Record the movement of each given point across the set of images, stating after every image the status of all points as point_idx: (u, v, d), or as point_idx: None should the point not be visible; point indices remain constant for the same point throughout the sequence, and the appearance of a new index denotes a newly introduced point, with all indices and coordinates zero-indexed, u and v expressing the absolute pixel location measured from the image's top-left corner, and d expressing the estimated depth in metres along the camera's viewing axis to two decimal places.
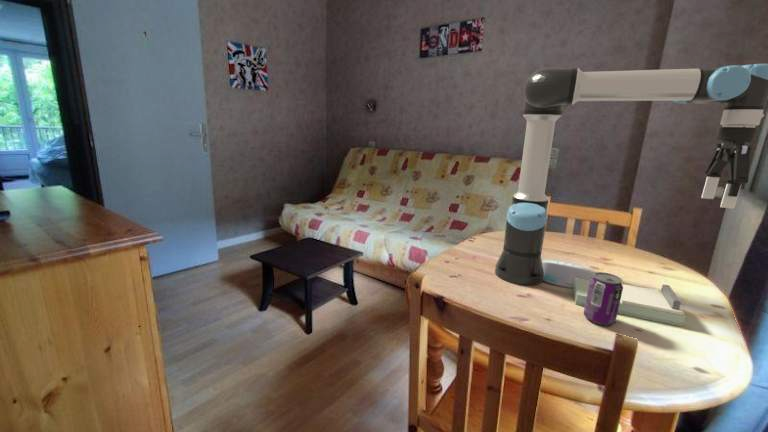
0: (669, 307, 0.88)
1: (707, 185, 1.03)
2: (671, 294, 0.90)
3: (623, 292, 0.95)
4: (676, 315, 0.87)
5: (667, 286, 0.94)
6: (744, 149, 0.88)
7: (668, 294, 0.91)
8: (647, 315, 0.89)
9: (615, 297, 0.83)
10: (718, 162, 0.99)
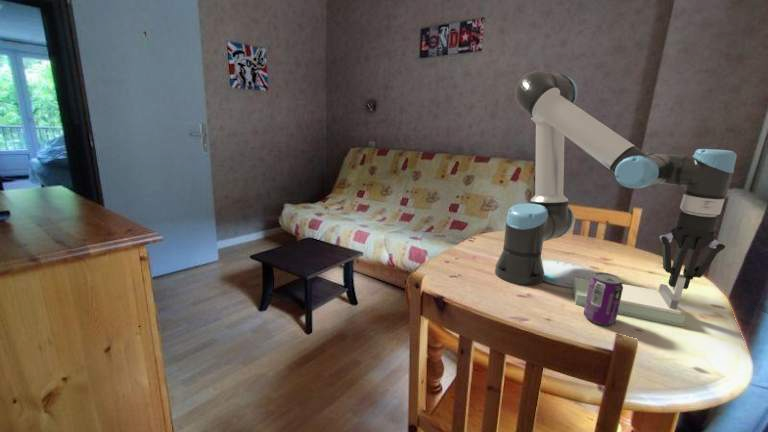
0: (667, 307, 0.88)
1: None
2: (669, 293, 0.90)
3: None
4: (676, 315, 0.87)
5: (664, 285, 0.95)
6: (660, 239, 0.89)
7: (666, 294, 0.91)
8: (647, 315, 0.89)
9: (615, 297, 0.83)
10: (689, 252, 0.88)
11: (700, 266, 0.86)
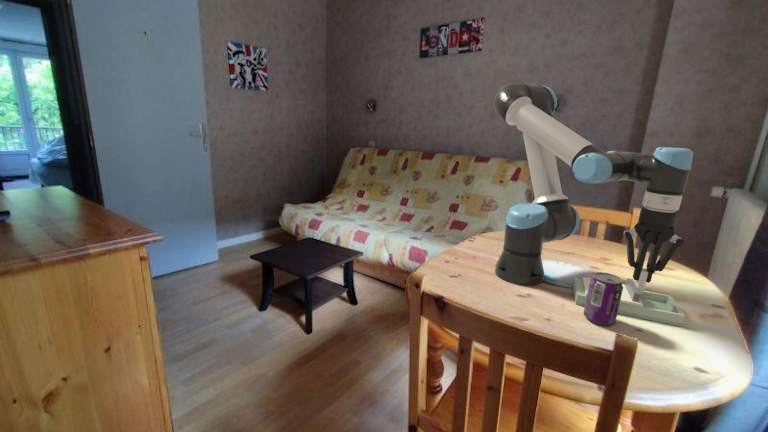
0: (630, 299, 0.91)
1: None
2: (633, 287, 0.93)
3: (588, 285, 0.99)
4: (676, 315, 0.87)
5: (630, 279, 0.98)
6: (624, 234, 0.92)
7: (630, 287, 0.94)
8: (647, 315, 0.89)
9: (615, 297, 0.83)
10: (651, 247, 0.91)
11: (661, 260, 0.90)
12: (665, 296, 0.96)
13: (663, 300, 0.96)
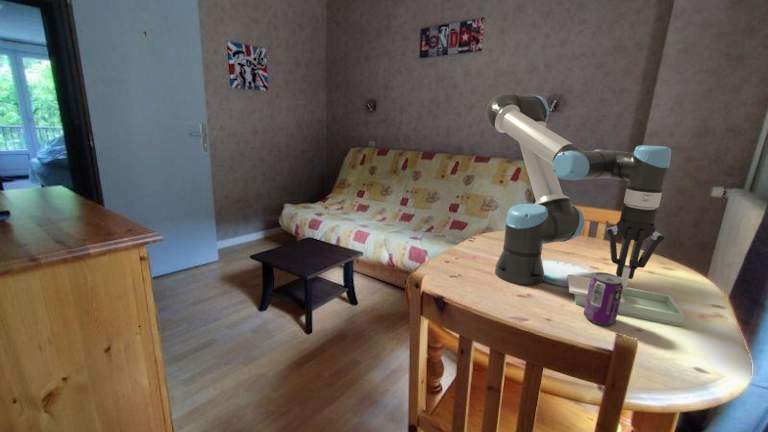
0: None
1: None
2: None
3: (573, 283, 1.00)
4: (676, 315, 0.87)
5: None
6: (607, 231, 0.94)
7: None
8: (647, 315, 0.89)
9: (615, 297, 0.83)
10: (633, 244, 0.93)
11: (643, 257, 0.91)
12: (665, 296, 0.96)
13: (663, 300, 0.96)
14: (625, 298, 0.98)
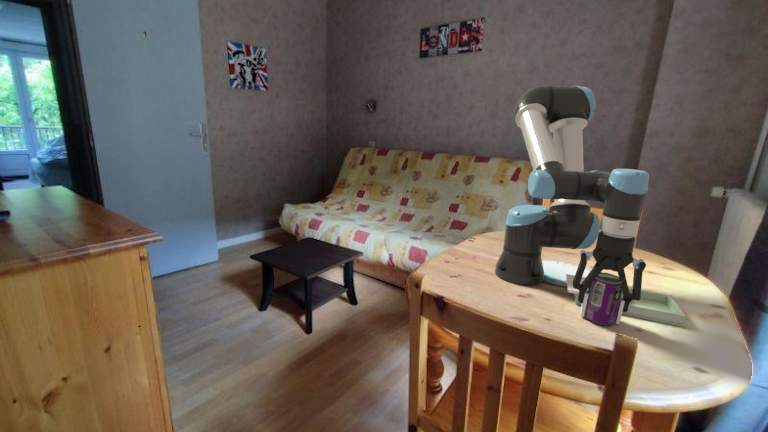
0: None
1: None
2: None
3: (571, 282, 1.01)
4: (676, 315, 0.87)
5: None
6: None
7: None
8: (647, 315, 0.89)
9: (615, 297, 0.83)
10: (618, 274, 0.85)
11: (634, 288, 0.83)
12: (665, 296, 0.96)
13: (663, 300, 0.96)
14: None
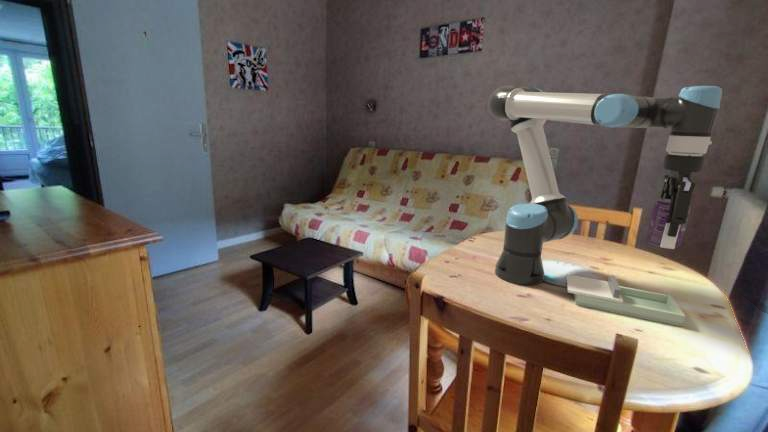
0: (611, 296, 0.93)
1: None
2: (614, 283, 0.95)
3: (571, 282, 1.01)
4: (676, 315, 0.87)
5: (612, 276, 1.00)
6: (687, 186, 0.79)
7: (611, 284, 0.96)
8: (647, 315, 0.89)
9: None
10: (667, 195, 0.88)
11: None
12: (665, 296, 0.96)
13: (663, 300, 0.96)
14: (625, 298, 0.98)
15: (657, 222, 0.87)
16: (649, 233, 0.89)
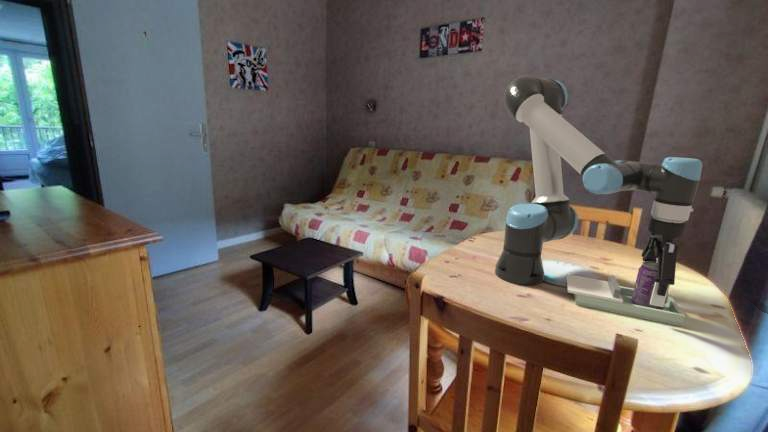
0: (611, 296, 0.93)
1: None
2: (614, 283, 0.95)
3: (571, 282, 1.01)
4: (676, 315, 0.87)
5: (612, 276, 1.00)
6: (671, 247, 0.83)
7: (611, 284, 0.96)
8: (647, 315, 0.89)
9: None
10: (651, 250, 0.94)
11: None
12: None
13: None
14: (625, 298, 0.98)
15: (641, 285, 0.92)
16: (634, 294, 0.94)
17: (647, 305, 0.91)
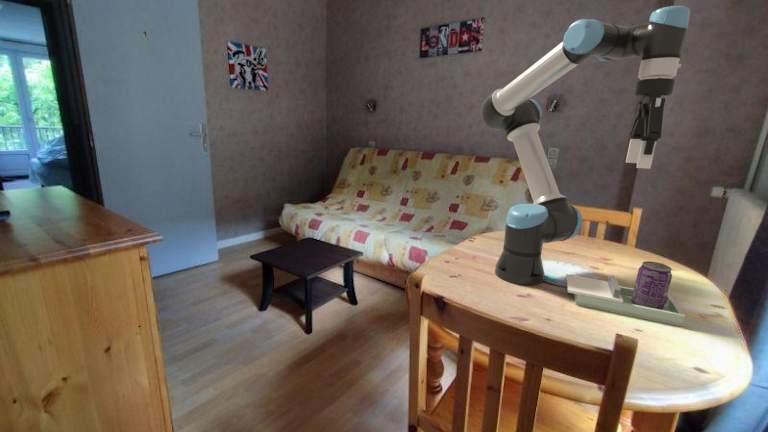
0: (611, 296, 0.93)
1: (631, 148, 0.95)
2: (614, 283, 0.95)
3: (571, 282, 1.01)
4: (676, 315, 0.87)
5: (612, 276, 1.00)
6: (658, 101, 0.80)
7: (611, 284, 0.96)
8: (647, 315, 0.89)
9: None
10: (639, 121, 0.91)
11: None
12: None
13: None
14: (625, 298, 0.98)
15: (641, 286, 0.92)
16: (634, 294, 0.94)
17: (647, 305, 0.91)
